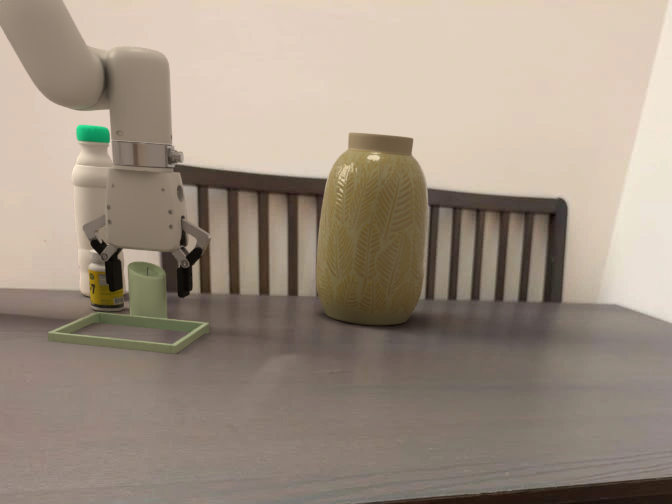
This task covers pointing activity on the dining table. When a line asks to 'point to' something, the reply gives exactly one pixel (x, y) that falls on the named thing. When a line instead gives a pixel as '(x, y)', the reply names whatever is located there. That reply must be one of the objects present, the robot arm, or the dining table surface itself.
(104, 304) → the supplement bottle
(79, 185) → the water bottle
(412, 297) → the vase
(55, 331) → the tray
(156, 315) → the candle
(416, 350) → the dining table surface
